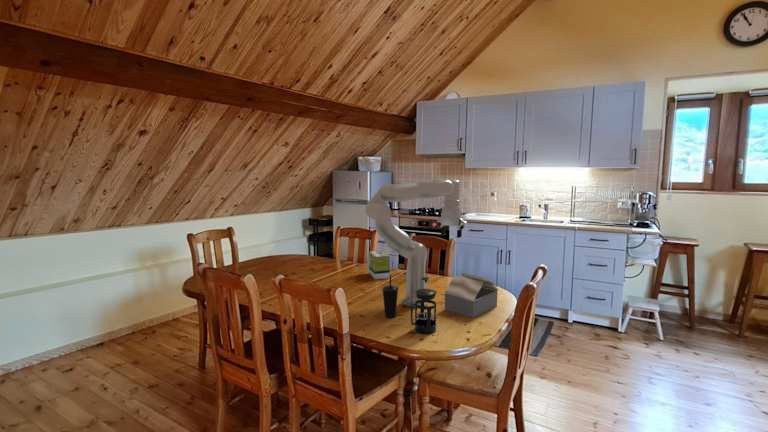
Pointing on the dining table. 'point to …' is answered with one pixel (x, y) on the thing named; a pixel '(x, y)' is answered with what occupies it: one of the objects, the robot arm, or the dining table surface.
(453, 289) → the near flap
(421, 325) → the french press
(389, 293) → the drinking cup
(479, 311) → the storage box
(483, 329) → the dining table surface
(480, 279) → the far flap
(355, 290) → the dining table surface
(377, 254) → the tea box
